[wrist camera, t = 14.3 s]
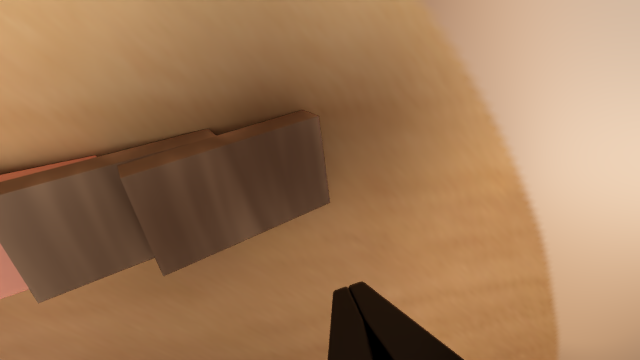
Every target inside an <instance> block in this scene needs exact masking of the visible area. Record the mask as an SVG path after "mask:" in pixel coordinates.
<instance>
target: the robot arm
mask: <svg viewBox="0 0 640 360" xmlns="http://www.w3.org/2000/svg"><path fill="white" fill-rule="evenodd" d="M328 360H464V359H463V358H461V357H460V356H459V355H457V354H456V353H455V352H454V351H452V350H451V349H450V348H448V347H447V346H446V345H445V344H443V343H442V342H441V341H439V340H438V339H437V338H435V337H434V336H433V335H432V334H430V333H429V332H428V331H426V330H425V329H424V328H423V327H421V326H420V325H419V324H417V323H416V322H415V321H414V320H412V319H411V318H410V317H408V316H407V315H406V314H404V313H403V312H402V311H401V310H399V309H398V308H397V307H395V306H394V305H393V304H392V303H390V302H389V301H388V300H386V299H385V298H384V297H382V296H381V295H380V294H379V293H377V292H376V291H375V290H373V289H372V288H371V287H370V286H368V285H367V284H366V283H364V282H358V283H355V284H352V285H350V286H349V288H348V287H343V288H340V289H337V290H335V291H334V292H333V301H332V313H331V326H330V338H329V350H328Z"/></svg>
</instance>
